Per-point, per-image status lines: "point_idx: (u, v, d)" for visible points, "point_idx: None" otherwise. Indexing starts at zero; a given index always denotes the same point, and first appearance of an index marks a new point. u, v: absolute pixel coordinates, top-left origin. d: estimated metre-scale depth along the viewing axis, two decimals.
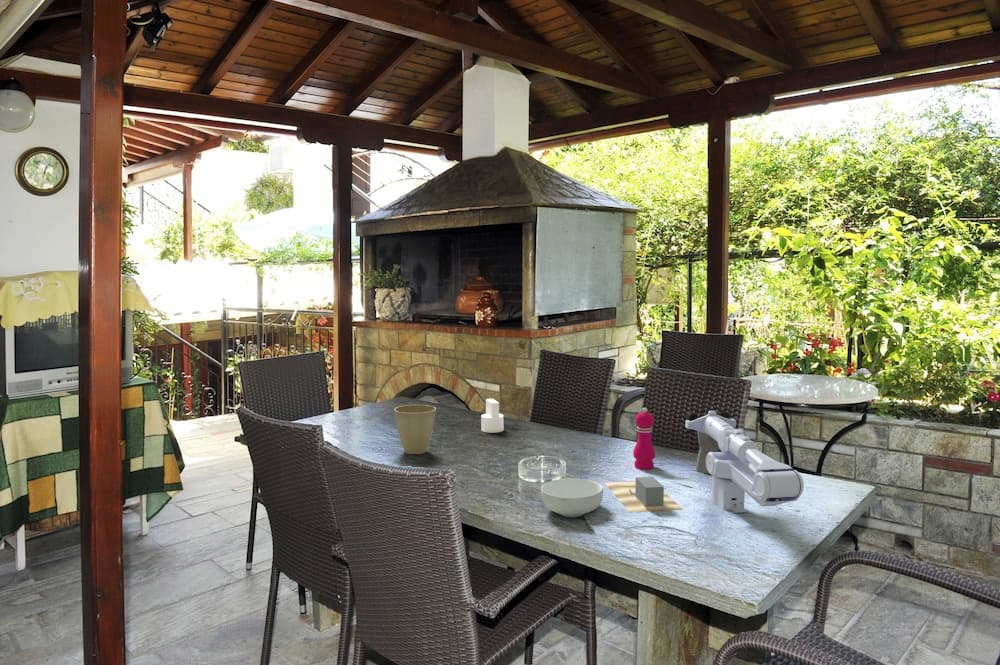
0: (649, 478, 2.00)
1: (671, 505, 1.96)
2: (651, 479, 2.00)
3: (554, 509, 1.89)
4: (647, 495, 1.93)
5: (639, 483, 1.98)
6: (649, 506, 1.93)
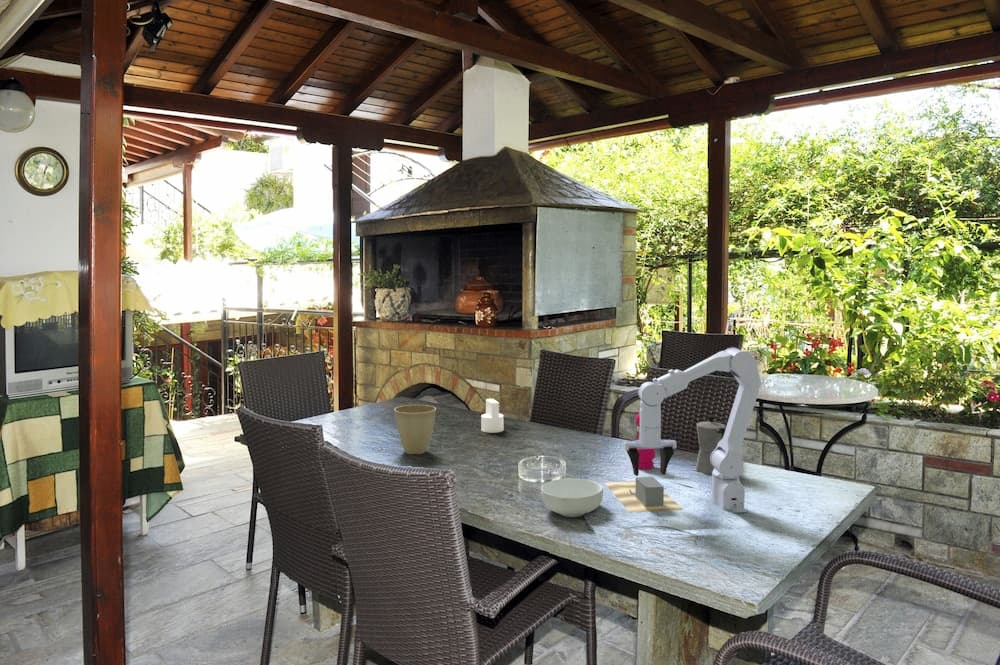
0: (649, 478, 2.00)
1: (671, 505, 1.96)
2: (651, 479, 2.00)
3: (554, 509, 1.89)
4: (647, 495, 1.93)
5: (639, 483, 1.98)
6: (649, 506, 1.93)
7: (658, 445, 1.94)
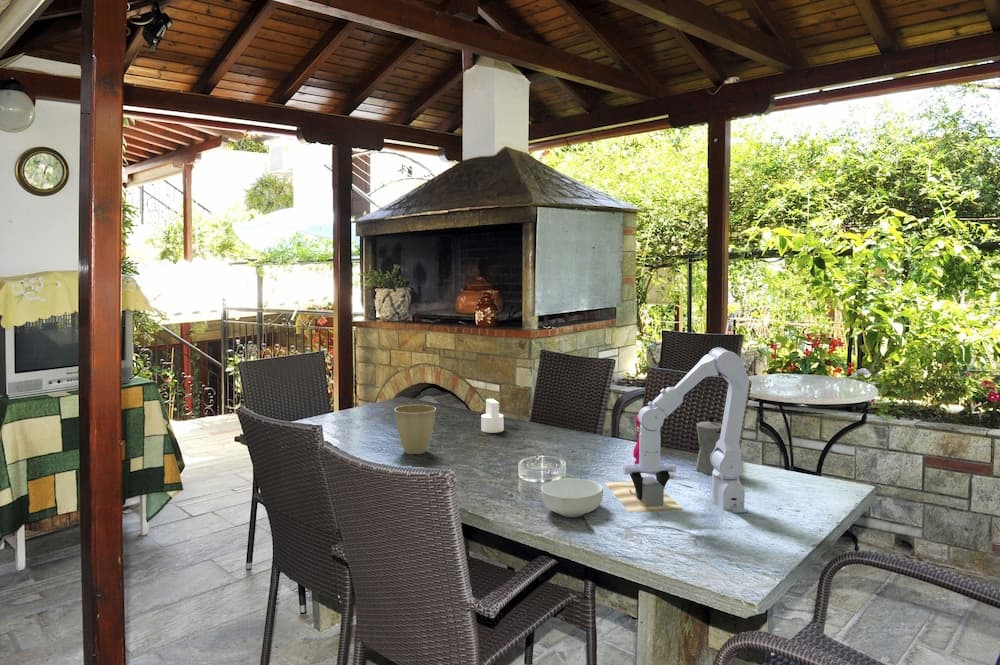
0: (649, 478, 2.00)
1: (671, 505, 1.96)
2: (651, 479, 2.00)
3: (554, 509, 1.89)
4: (647, 495, 1.93)
5: None
6: (649, 506, 1.93)
7: (658, 469, 1.95)
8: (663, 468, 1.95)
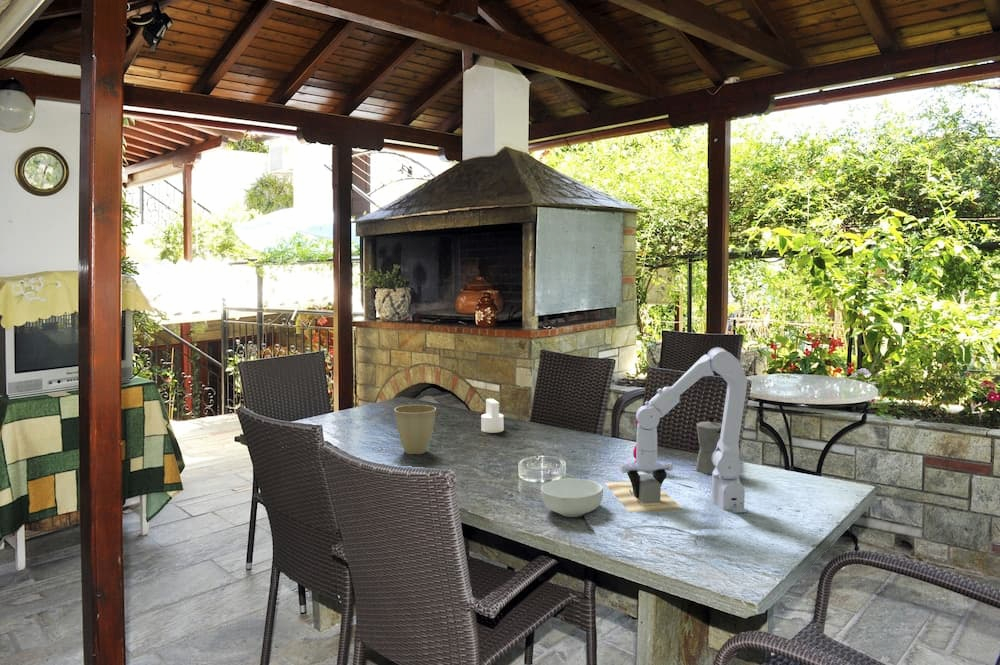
0: (646, 475, 2.03)
1: (671, 505, 1.96)
2: (648, 476, 2.02)
3: (554, 509, 1.89)
4: (644, 492, 1.95)
5: None
6: (646, 503, 1.96)
7: (654, 468, 1.97)
8: (660, 466, 1.98)
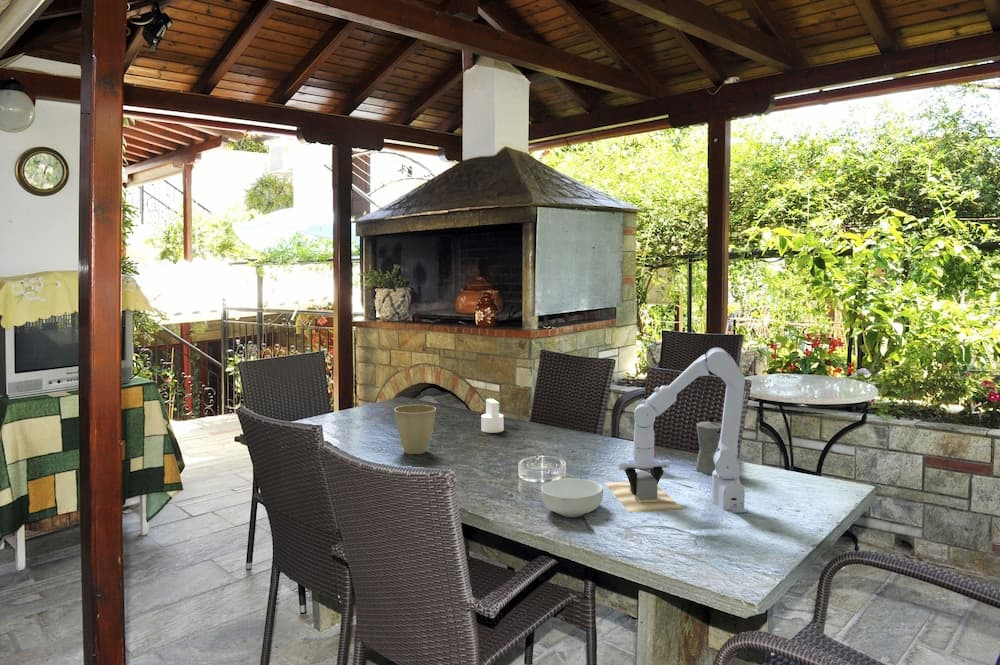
0: (643, 473, 2.05)
1: (671, 505, 1.96)
2: (645, 473, 2.05)
3: (554, 509, 1.89)
4: (641, 489, 1.98)
5: None
6: (643, 500, 1.98)
7: (651, 465, 2.00)
8: (657, 464, 2.00)
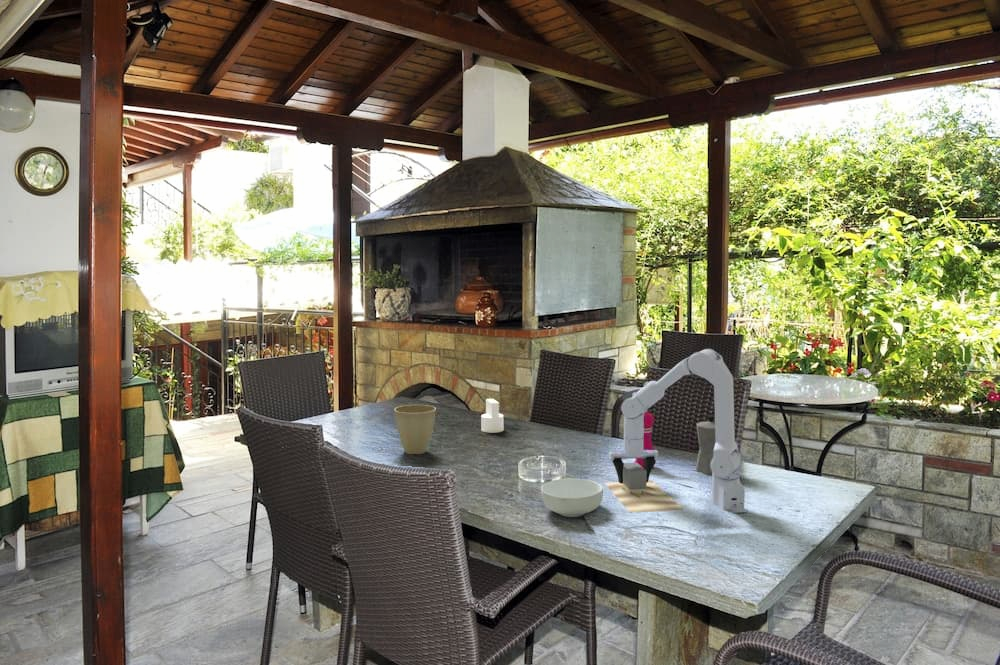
0: (633, 464, 2.15)
1: (671, 505, 1.96)
2: (635, 464, 2.14)
3: (554, 509, 1.89)
4: (631, 479, 2.07)
5: (624, 468, 2.12)
6: (633, 489, 2.08)
7: (641, 455, 2.09)
8: (646, 454, 2.10)
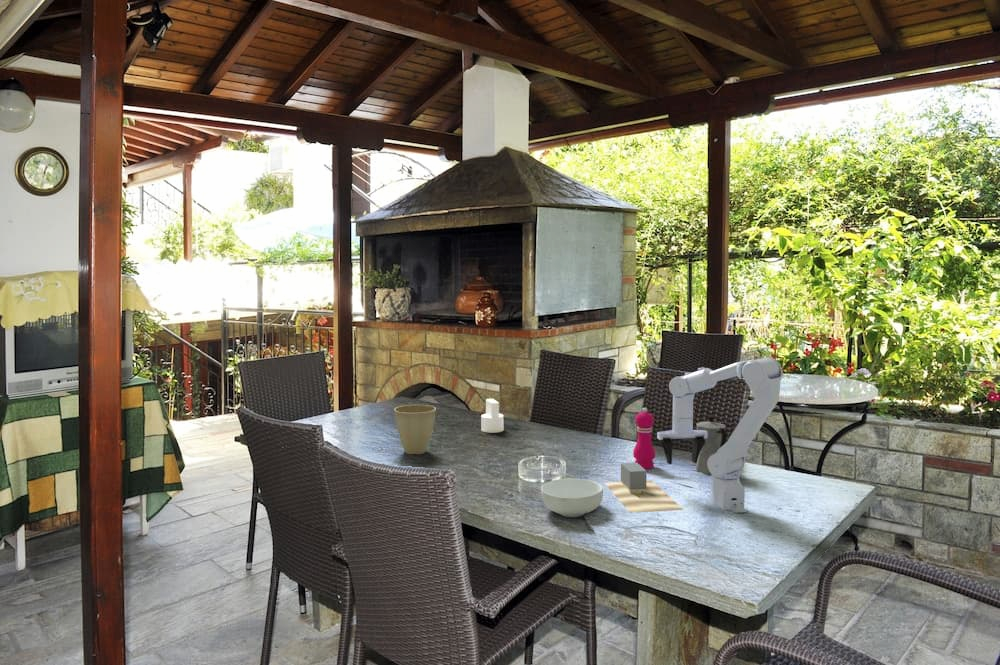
0: (633, 464, 2.15)
1: (671, 505, 1.96)
2: (635, 464, 2.14)
3: (554, 509, 1.89)
4: (631, 479, 2.07)
5: (624, 468, 2.12)
6: (633, 489, 2.08)
7: (690, 435, 2.05)
8: (695, 434, 2.06)
